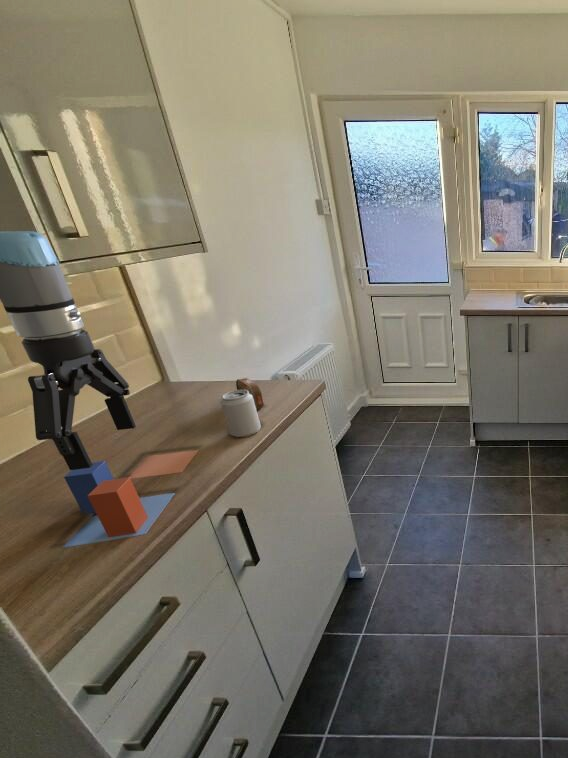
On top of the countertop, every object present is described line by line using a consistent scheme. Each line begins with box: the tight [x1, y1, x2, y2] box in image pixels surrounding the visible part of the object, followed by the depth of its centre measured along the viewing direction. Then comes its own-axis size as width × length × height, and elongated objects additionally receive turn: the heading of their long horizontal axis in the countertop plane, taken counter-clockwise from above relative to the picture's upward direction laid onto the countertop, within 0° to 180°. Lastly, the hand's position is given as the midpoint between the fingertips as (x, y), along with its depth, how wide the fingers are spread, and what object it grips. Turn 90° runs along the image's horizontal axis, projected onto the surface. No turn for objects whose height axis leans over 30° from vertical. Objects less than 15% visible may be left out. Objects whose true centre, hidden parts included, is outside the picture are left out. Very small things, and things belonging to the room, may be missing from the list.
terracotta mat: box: [127, 449, 200, 480], centre depth 102 cm, size 12×10×1 cm
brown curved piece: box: [235, 377, 265, 411], centre depth 130 cm, size 15×3×8 cm, turn 49°
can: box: [220, 389, 262, 438], centre depth 114 cm, size 8×8×12 cm
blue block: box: [63, 460, 115, 516], centre depth 85 cm, size 4×4×10 cm
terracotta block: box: [88, 477, 148, 538], centre depth 80 cm, size 4×4×10 cm
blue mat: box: [61, 492, 176, 549], centre depth 84 cm, size 14×13×1 cm
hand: (106, 446), depth 75 cm, fingers open, 13 cm apart
